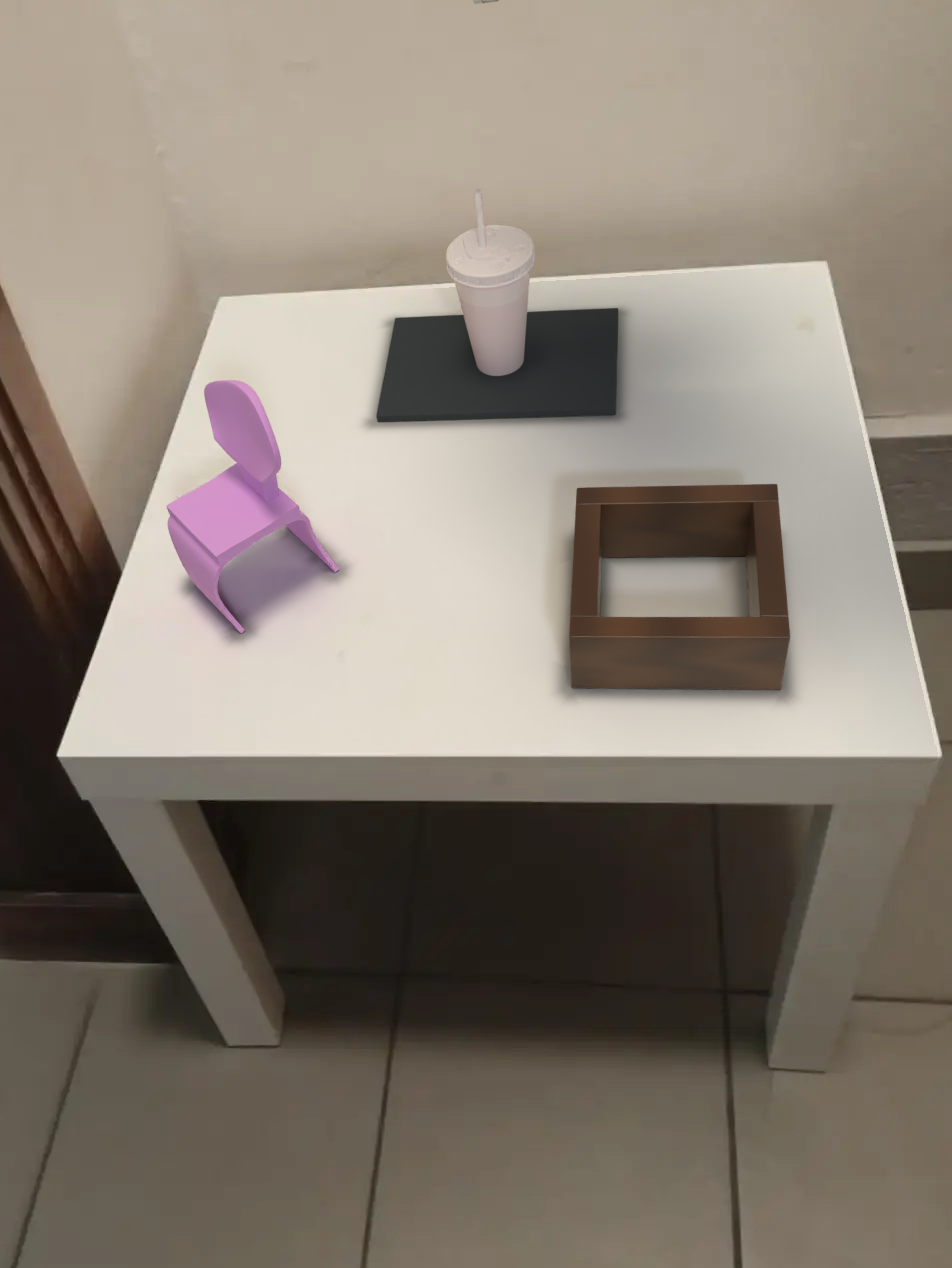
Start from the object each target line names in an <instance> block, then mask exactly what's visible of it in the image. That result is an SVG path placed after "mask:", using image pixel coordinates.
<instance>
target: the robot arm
mask: <svg viewBox="0 0 952 1268" xmlns="http://www.w3.org/2000/svg"><path fill="white" fill-rule="evenodd" d="M495 2H496V3H497V2H500V0H473V4H475V5H478V4H479V5H480V4H488V3H495Z"/></svg>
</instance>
